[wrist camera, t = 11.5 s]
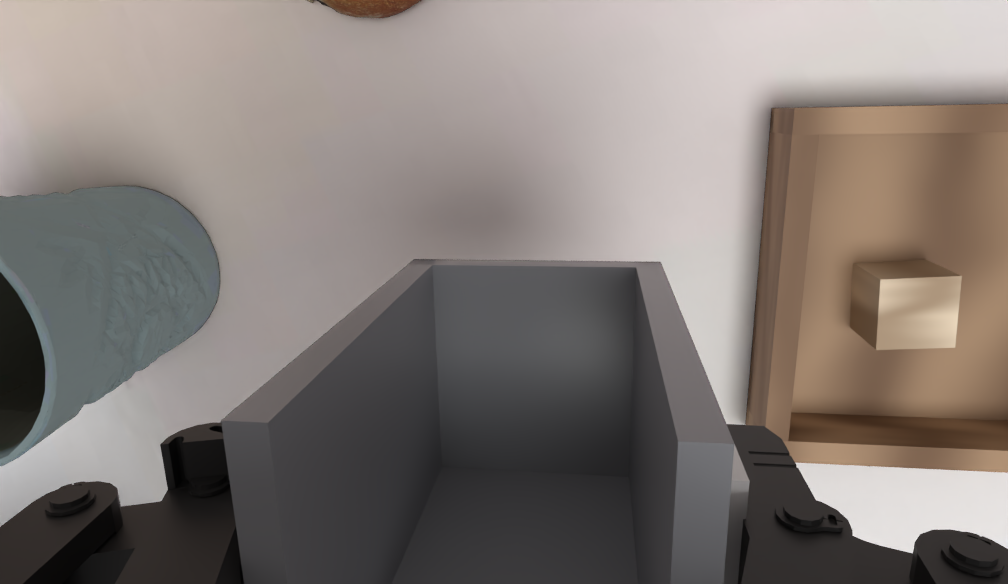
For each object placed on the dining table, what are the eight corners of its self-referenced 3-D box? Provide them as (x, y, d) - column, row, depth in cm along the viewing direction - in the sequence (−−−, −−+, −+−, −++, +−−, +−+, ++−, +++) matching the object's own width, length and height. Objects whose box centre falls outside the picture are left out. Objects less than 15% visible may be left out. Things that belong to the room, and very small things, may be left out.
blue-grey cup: (265, 322, 35) (103, 427, 24) (112, 383, 37) (-102, 507, 26) (170, 138, 33) (-56, 154, 22) (15, 214, 35) (-265, 266, 24)
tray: (745, 424, 33) (762, 460, 30) (771, 108, 29) (794, 108, 26) (1035, 436, 31) (1088, 476, 28) (1105, 101, 27) (1176, 100, 24)
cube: (875, 350, 28) (880, 279, 27) (849, 327, 31) (852, 262, 30) (955, 347, 27) (962, 275, 26) (921, 324, 30) (926, 259, 29)
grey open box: (426, 474, 18) (274, 799, 10) (414, 259, 17) (220, 420, 8) (650, 486, 18) (701, 853, 9) (660, 262, 16) (734, 444, 7)
